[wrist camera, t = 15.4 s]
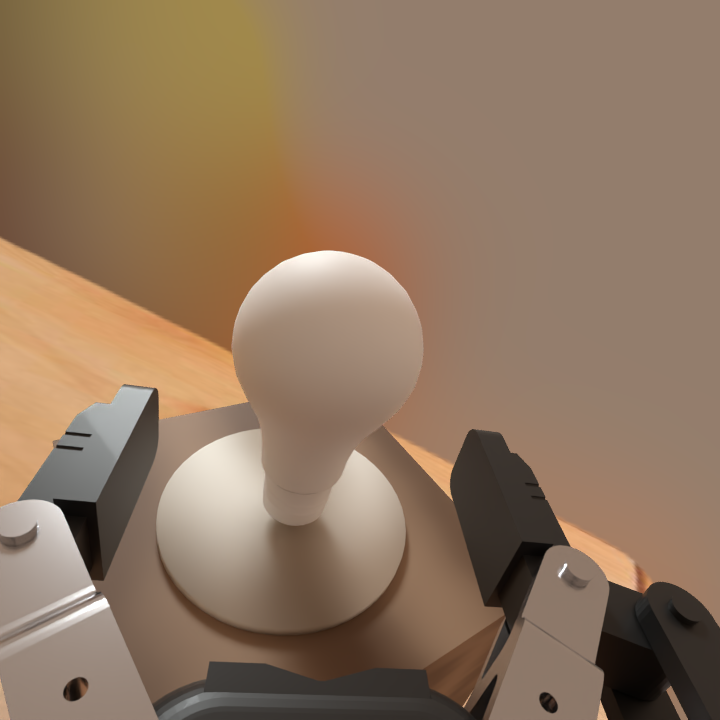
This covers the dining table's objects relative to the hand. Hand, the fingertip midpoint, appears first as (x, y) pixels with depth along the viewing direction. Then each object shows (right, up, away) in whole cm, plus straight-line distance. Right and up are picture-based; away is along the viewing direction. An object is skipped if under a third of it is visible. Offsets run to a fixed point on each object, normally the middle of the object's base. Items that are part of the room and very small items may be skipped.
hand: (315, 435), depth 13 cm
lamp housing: (-5, -16, +15) cm, 22 cm away
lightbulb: (-2, -5, +7) cm, 9 cm away
